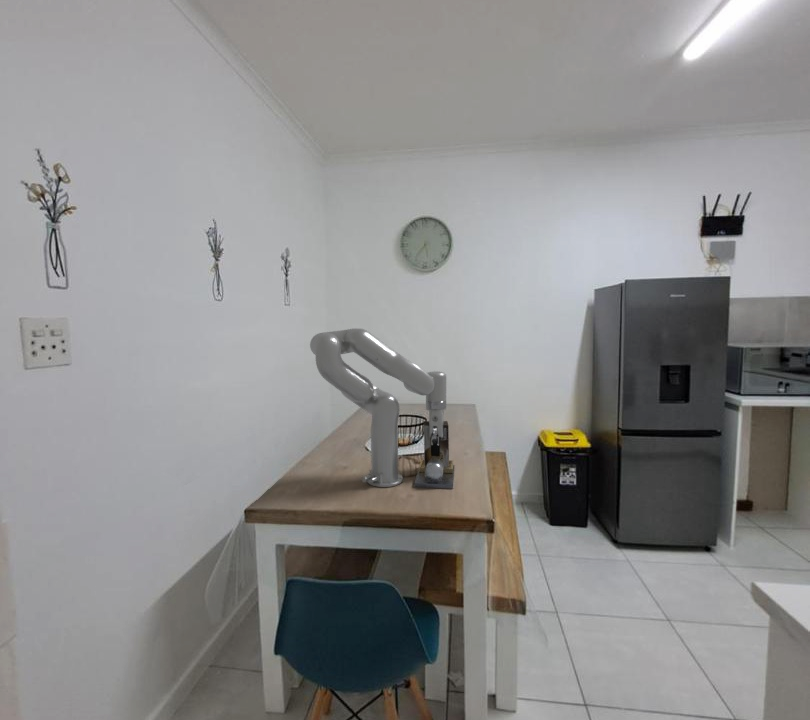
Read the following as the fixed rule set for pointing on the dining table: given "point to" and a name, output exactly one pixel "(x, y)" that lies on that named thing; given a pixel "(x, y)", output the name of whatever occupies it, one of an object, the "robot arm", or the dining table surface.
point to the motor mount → (435, 475)
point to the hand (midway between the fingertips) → (436, 452)
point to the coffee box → (442, 442)
